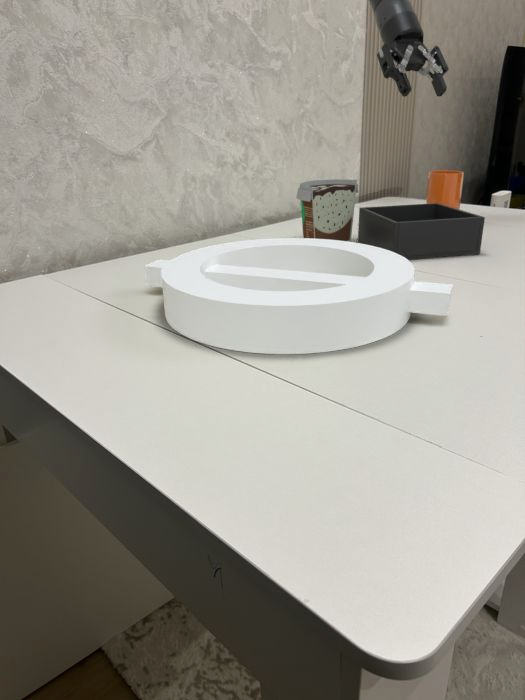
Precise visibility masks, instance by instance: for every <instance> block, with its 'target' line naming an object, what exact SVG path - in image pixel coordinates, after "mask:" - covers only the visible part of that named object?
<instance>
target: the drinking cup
mask: <svg viewBox="0 0 525 700" xmlns="http://www.w3.org/2000/svg"><path fill="white" fill-rule="evenodd" d="M464 175H465V172H464V171H461V170H453V169H451V170H449V169H445V170H444V169H441V170H440V169H439V170H430V171H428V177H427V180H428V181H427V189H426V200H425V204H429V203H439V204H443V205H446V206H449V207H453V208H456V209H459V210H461V209H460V208H461V200H462V193H463V192H462V191H463V183H464Z"/></svg>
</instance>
